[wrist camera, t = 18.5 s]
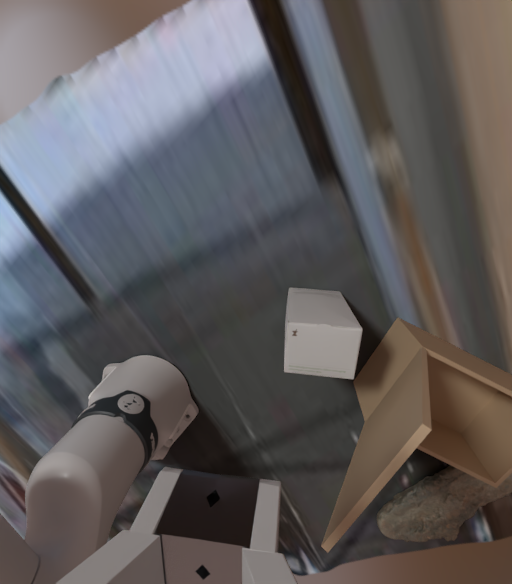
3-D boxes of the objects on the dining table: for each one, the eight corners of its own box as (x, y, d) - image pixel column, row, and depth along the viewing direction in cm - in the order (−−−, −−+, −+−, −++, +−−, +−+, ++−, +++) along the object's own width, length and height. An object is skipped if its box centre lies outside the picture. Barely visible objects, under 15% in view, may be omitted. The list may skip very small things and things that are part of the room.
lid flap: (327, 552, 23) (321, 546, 24) (368, 426, 42) (364, 423, 42) (431, 430, 19) (422, 423, 20) (426, 349, 38) (421, 346, 38)
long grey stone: (573, 443, 51) (537, 400, 51) (604, 467, 46) (564, 420, 46) (396, 540, 59) (362, 504, 59) (405, 570, 54) (369, 531, 54)
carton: (460, 435, 52) (496, 488, 42) (353, 381, 52) (365, 422, 42) (513, 375, 48) (566, 418, 38) (397, 317, 48) (422, 346, 38)
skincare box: (285, 323, 50) (279, 374, 36) (288, 283, 48) (284, 320, 34) (337, 328, 49) (354, 383, 35) (343, 289, 48) (364, 328, 33)
